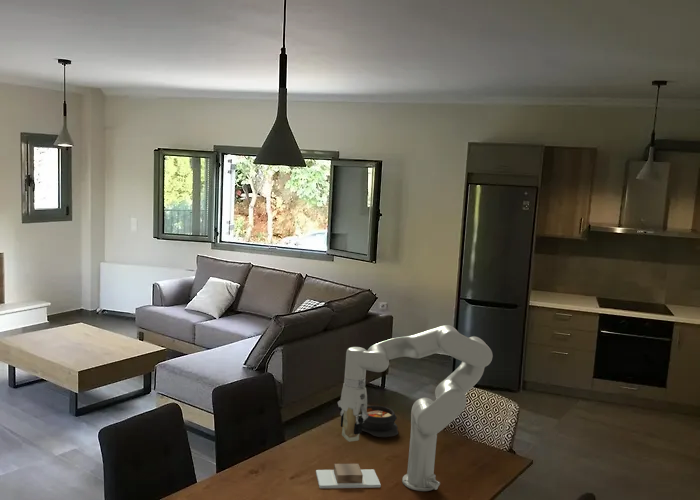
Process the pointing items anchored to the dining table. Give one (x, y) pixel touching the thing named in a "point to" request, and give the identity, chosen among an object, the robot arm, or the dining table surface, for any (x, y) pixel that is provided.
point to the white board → (329, 481)
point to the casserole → (380, 422)
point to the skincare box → (349, 425)
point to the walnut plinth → (348, 473)
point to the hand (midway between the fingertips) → (351, 429)
